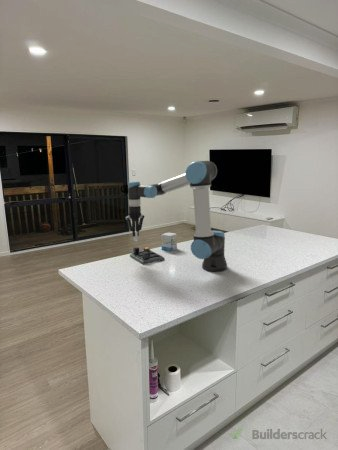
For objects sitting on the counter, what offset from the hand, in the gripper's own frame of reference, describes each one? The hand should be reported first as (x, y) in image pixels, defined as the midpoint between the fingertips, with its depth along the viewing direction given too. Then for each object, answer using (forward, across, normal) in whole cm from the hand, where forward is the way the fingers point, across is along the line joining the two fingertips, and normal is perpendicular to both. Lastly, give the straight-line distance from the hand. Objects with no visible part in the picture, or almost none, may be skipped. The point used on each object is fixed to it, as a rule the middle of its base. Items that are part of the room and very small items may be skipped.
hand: (135, 240), depth 209 cm
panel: (+13, -8, 0) cm, 15 cm away
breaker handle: (+11, -8, 0) cm, 14 cm away
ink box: (+13, -32, -10) cm, 36 cm away
